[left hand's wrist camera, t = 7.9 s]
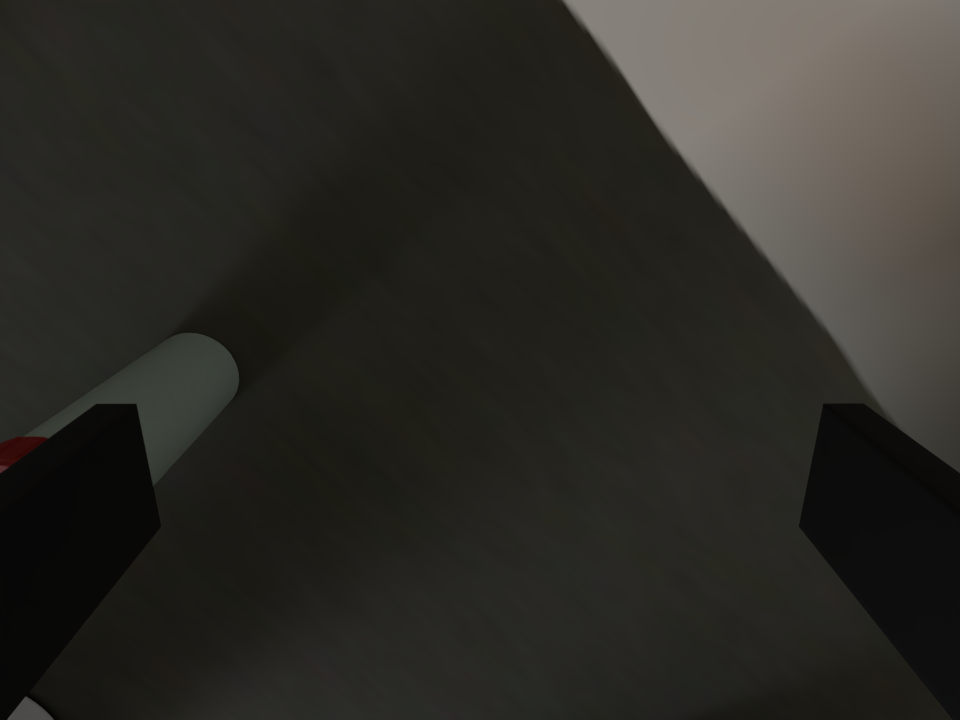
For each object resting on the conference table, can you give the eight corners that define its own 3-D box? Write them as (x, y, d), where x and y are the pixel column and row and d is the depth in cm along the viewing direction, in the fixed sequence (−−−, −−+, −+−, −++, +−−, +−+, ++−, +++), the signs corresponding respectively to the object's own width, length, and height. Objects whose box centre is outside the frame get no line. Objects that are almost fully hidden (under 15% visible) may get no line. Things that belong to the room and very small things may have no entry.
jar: (195, 427, 43) (27, 605, 27) (134, 364, 41) (-83, 513, 25) (257, 382, 42) (119, 540, 26) (196, 315, 40) (10, 440, 24)
